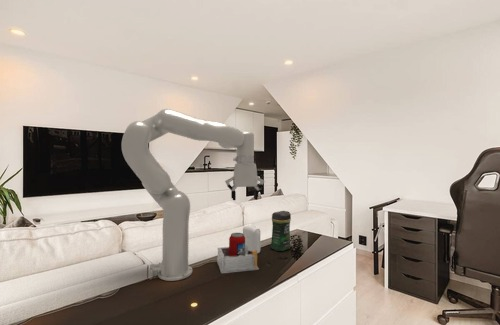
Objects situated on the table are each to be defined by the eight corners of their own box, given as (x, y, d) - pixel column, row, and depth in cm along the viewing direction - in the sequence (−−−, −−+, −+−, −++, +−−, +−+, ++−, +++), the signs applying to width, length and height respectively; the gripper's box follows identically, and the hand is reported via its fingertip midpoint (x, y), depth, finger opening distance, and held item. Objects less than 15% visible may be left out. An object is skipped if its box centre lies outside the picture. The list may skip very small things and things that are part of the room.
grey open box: (221, 273, 99) (221, 255, 99) (216, 259, 112) (216, 243, 112) (258, 269, 103) (258, 251, 102) (249, 256, 116) (249, 241, 116)
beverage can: (243, 267, 103) (243, 237, 103) (226, 265, 105) (227, 236, 105) (246, 260, 110) (246, 232, 110) (231, 259, 111) (231, 231, 111)
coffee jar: (281, 253, 121) (282, 213, 121) (268, 249, 127) (268, 211, 127) (293, 248, 128) (293, 211, 128) (280, 244, 134) (280, 208, 134)
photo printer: (241, 248, 127) (241, 223, 127) (248, 246, 130) (248, 222, 130) (254, 254, 119) (255, 227, 119) (261, 252, 122) (261, 226, 122)
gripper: (226, 160, 106) (226, 201, 106) (266, 160, 110) (266, 200, 110) (224, 160, 113) (224, 199, 114) (261, 160, 118) (261, 197, 118)
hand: (244, 199), depth 112 cm, fingers open, 9 cm apart
